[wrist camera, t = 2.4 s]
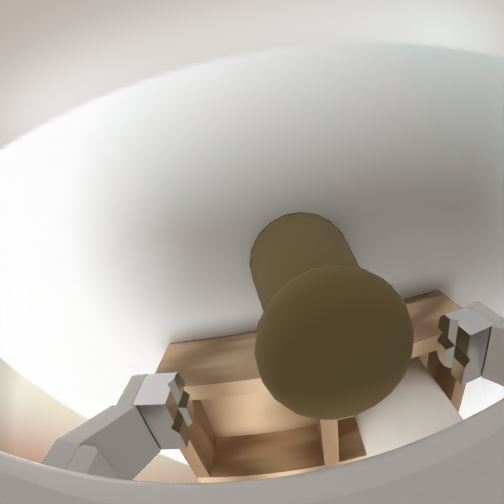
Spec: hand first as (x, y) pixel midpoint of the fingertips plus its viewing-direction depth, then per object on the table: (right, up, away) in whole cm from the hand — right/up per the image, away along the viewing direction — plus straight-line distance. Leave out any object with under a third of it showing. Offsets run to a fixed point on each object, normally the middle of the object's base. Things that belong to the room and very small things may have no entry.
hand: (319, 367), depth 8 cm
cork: (+1, +3, +10) cm, 11 cm away
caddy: (+3, -6, +12) cm, 14 cm away
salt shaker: (+7, -5, +11) cm, 14 cm away
